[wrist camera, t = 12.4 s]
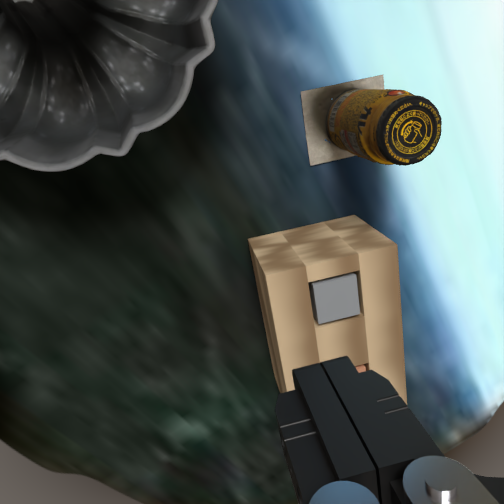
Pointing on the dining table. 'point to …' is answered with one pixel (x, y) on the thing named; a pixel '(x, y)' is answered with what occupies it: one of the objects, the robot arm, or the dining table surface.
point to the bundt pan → (93, 74)
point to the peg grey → (334, 297)
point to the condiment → (369, 123)
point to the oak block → (299, 302)
